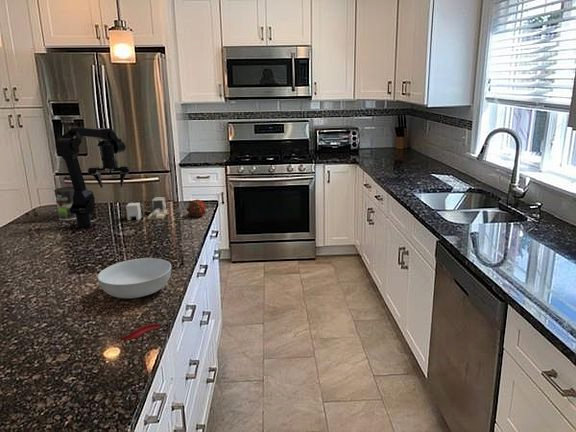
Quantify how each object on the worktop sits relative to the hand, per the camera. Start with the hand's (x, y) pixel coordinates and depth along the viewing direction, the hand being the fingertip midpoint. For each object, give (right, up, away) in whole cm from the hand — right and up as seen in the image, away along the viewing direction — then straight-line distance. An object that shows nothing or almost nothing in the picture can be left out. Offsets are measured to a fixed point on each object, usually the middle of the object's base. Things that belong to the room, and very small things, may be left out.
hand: (111, 187), depth 226 cm
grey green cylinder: (-19, -15, -1) cm, 24 cm away
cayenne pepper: (+49, -43, -110) cm, 127 cm away
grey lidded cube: (+13, -15, -6) cm, 21 cm away
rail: (+23, -14, -2) cm, 27 cm away
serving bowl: (+40, -37, -86) cm, 101 cm away
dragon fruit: (+42, -14, -4) cm, 44 cm away
